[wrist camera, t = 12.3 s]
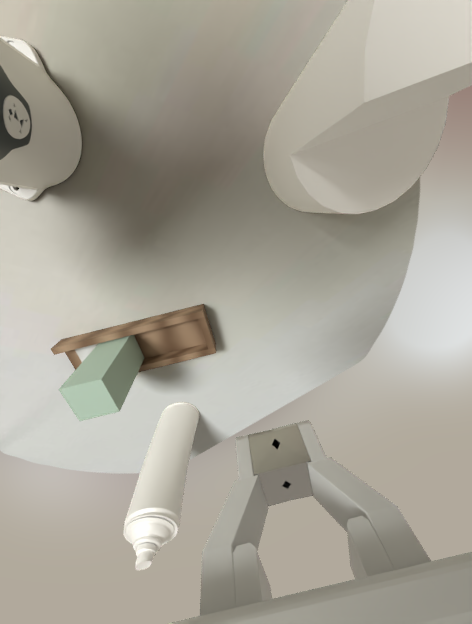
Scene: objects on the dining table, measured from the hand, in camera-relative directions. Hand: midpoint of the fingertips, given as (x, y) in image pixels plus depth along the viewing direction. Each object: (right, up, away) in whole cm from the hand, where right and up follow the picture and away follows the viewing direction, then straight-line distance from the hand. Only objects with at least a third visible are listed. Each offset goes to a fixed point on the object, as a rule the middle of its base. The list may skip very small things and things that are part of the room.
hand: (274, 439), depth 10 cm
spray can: (-16, -20, +48) cm, 54 cm away
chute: (-20, -1, +39) cm, 44 cm away
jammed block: (-23, -2, +38) cm, 44 cm away
